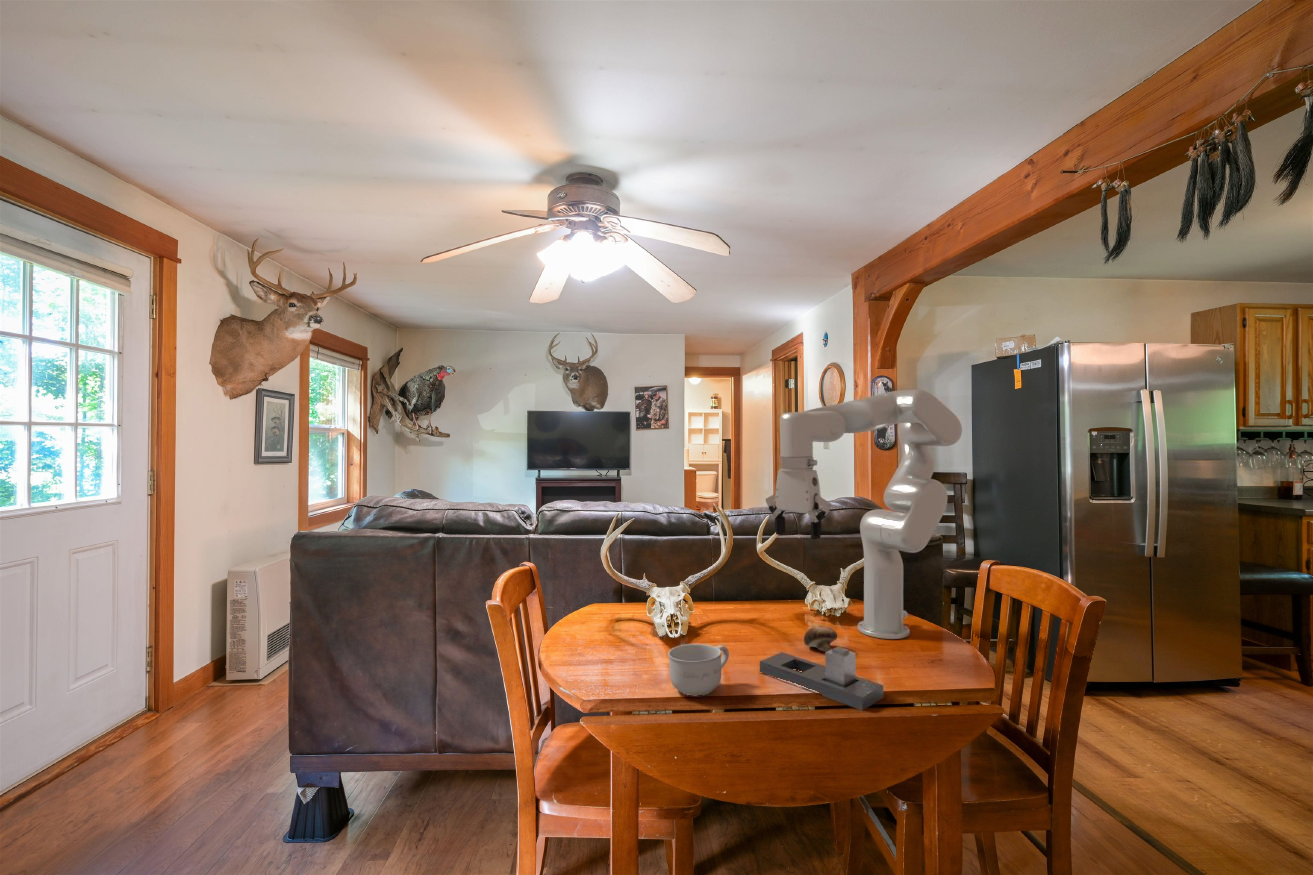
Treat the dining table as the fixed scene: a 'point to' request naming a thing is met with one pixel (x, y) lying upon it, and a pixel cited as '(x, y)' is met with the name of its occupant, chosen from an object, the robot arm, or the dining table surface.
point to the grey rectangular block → (840, 667)
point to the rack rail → (821, 680)
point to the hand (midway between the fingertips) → (797, 536)
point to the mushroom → (820, 637)
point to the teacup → (696, 667)
